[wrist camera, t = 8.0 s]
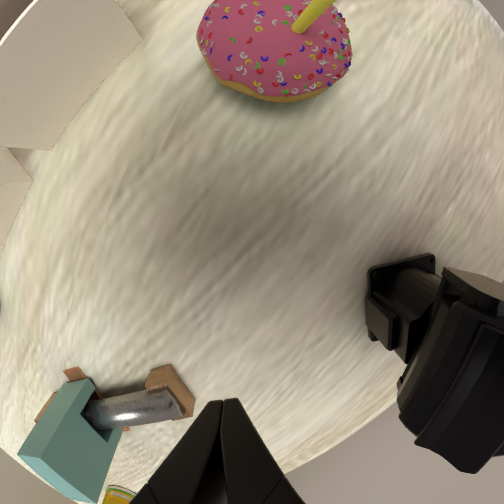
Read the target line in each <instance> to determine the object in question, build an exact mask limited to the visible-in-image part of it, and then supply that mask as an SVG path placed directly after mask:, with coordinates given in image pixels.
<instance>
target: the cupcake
mask: <svg viewBox="0 0 504 504" xmlns="http://www.w3.org/2000/svg"><path fill="white" fill-rule="evenodd" d="M335 1H336V0H215V1H213V2H212V3H211V5H210V6H209V7H208V8H207V10H206V12H205V14H204V16H203V18H202V21H201V22H200V25H199V27H198V30H197V36H196V37H197V43H198V46H199V48H200V50H201V52H202V54H203V57H204V59H205V61H206V63H207V64H208V66H209V68H210V70H211V72H212V73H213V75H214V77H215V78H216V80H217V81H218V82H219V83H221V84H223V85H225V86H227V87H230V88H232V89H234V90H237V91H239V92H241V93H244V94H247V95H249V96H252V97H255V98H258V99H262V100H266V101H272V102H281V103H289V102H296V101H300V100H303V99H307V98H311V97H315V96H317V95H319V94H320V93H322V92H323V91H325V90H326V89H328V88H329V87H331V86H332V85H333V84H334V83H335V82H336V81H337V80H339V79H340V78H342V77H343V76H344V75H345V74H346V73H348V72H349V69H348V68H349V66H350V65H351V58H352V56H353V54H352V51H351V44H350V39H349V35H348V33H349V29H348V28H346V24H345V18H342V14H341V13H338V12H337V8H336V7H335V6H333V5H332V4H333V3H334V2H335ZM343 19H344V20H343ZM343 21H344V22H343ZM347 31H348V32H347Z"/></svg>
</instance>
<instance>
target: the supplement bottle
mask: <svg viewBox="0 0 504 504" xmlns="http://www.w3.org/2000/svg"><path fill="white" fill-rule="evenodd" d="M135 495H136V494H135V493H133V492H132V491H130V490H128V489H125V488H122V487H118V486H109V487H108V488H107V490H106V494H105V497H104V500H103V503H102V504H128V503H129V502H130V501H131V500H132V499H133V498H134V497H135Z"/></svg>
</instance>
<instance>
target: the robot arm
mask: <svg viewBox="0 0 504 504" xmlns="http://www.w3.org/2000/svg"><path fill="white" fill-rule="evenodd" d="M430 258H431V259H430ZM429 259H430V261H429ZM374 272H376V275H375V276H372V275H373V273H374ZM367 275H368V295H367V297H366V325H367V326H368V327H369V335H368V336H369V338H370V339H371V341H378V340H379V341H380V342H381V343H382V344H383V345H384V347H385V348H386V349H387V350H389V351H392V350H394V351H395V352H396V353H397V354H398V356H399V357H400V358H401V359H402V360H403V362H404V363H405V364H408V365H407V367H406V369H405V371H404V373H403V375H402V376H401V377H400V378H399V380H398V382H397V388H398V394H397V403H398V406H399V410H400V413H399V419H400V420H401V422H402V423H403V424H404V426H405V427H406V428H407V429H408V430H409V431H410V432H411V433H413V434H414V435H415V436H416V437H417V439H416V440H415V441H414V443H415V445H417V446H420V447H423V448H427V449H430V450H431V451H433V452H435V453H437V454H439V455H441V456H442V457H443V458H445V459H446V460H447V461H448V462H449V463H451V464H452V465H453V466H454V467H455V468H456V469H457V470H459V471H461V472H465V473H471V474H476V473H477V472H479V471H480V469H481V468H482V467H483V466H484V465H485V464H486V463H487V462H488V461H489V460H490V459H491V457H497V456H504V285H503V284H501V283H499V282H497V281H494V280H492V279H490V278H488V277H485V276H483V275H479V274H474V273H470V272H466V271H462V270H457V269H453V268H449V267H443V271H442V274H441V275H442V277H441V276H439V275H437V274H435V256H434V255H433V254H431V253H428V254H424V255H420V256H416V257H412V258H408V259H404V260H400V261H396V262H392V263H388V264H384V265H380V266H375V267H372V268H370V269H369V271H368V274H367ZM374 335H375V336H374ZM373 336H374V337H373ZM128 504H305V503H304V501H303V500H302V499H301V498H300V496H299V495H298V494H297V492H296V491H295V490H294V488H293V487H292V486H291V484H290V483H289V481H288V479H287V478H286V477H285V475H284V474H283V472H282V471H281V469H280V467H279V466H278V464H277V463H276V461H275V460H274V458H273V456H272V455H271V453H270V452H269V450H268V448H267V447H266V445H265V444H264V442H263V440H262V439H261V437H260V435H259V434H258V432H257V430H256V429H255V427H254V425H253V423H252V422H251V420H250V418H249V416H248V415H247V413H246V411H245V409H244V408H243V406H242V404H241V402H240V401H239V399H238V398H230V399H225V400H224V401H223V400H213V401H209V402H208V403H207V404H206V406H205V407H204V409H203V410H202V411H201V413H200V414H199V415H198V417H197V418H196V420H195V421H194V422H193V424H192V425H191V426H190V428H189V429H188V430H187V432H186V433H185V434H184V436H183V437H182V438H181V440H180V441H179V442H178V443H177V445H176V446H175V447H174V449H173V450H172V451H171V453H170V454H169V455H168V456H167V458H166V459H165V460H164V461H163V463H162V464H161V465H160V467H159V468H158V469H157V470H156V472H155V473H154V474H153V475H152V476H151V478H150V479H149V480H148V483H146V484H145V485H144V486H143V487H142V489H141V490H140V491H139V492H138V493H137V494H136V495H135V497H134V498H133V499H132V500H131V501H130V502H129V503H128Z"/></svg>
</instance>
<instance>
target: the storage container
mask: <svg viewBox="0 0 504 504" xmlns="http://www.w3.org/2000/svg"><path fill="white" fill-rule="evenodd" d="M142 41H143V39H142V37H141V36H140V34H139V33H138V32H137V30H136V29H135V27H134V26H133V24H132V23H131V22H130V20H129V19H128V17H127V16H126V15H125V13H124V12H123V10H122V9H121V8H120V6H119V5H118V4H117V2H116V1H115V0H34V1H33V2H32V3H31V4H30V5H29V6H28V7H27V9H26V10H25V11H24V12H23V13H22V14H21V15H20V17H19V18H18V19H17V20H16V21H15V23H14V24H13V25H12V27H11V28H10V29H9V30H8V32H7V33H6V34H5V36H4V37H3V38H2V40H1V41H0V255H1V252H2V250H3V247H4V244H5V242H6V239H7V237H8V234H9V232H10V229H11V227H12V225H13V222H14V220H15V218H16V216H17V213H18V211H19V209H20V207H21V205H22V203H23V201H24V199H25V197H26V195H27V193H28V191H29V189H30V187H31V185H32V183H33V180H32V179H31V178H30V177H29V175H28V174H27V173H26V172H25V170H24V169H23V168H22V167H21V165H20V164H19V163H18V161H17V160H16V159H15V157H14V156H13V155H12V153H11V152H10V151H9V149H8V148H7V147H13V148H27V149H38V150H49V151H51V150H52V149H53V147H54V146H55V144H56V143H57V141H58V140H59V138H60V137H61V135H62V134H63V132H64V131H65V129H66V128H67V126H68V125H69V124H70V122H71V121H72V119H73V118H74V117H75V115H76V114H77V113H78V111H79V110H80V109H81V107H82V106H83V105H84V104H85V102H86V101H87V100H88V98H89V97H90V96H91V95H92V94H93V92H94V91H95V90H96V89H97V88H98V86H99V85H100V84H101V83H102V82H103V81H104V79H105V78H106V77H107V76H108V75H109V74H110V73H111V72H112V71H113V70H114V68H115V67H116V66H117V65H118V64H119V63H120V62H121V61H122V60H123V59H124V58H125V57H126V56H127V55H128V54H129V53H130V52H131V51H132V50H133V49H134V48H135V47H136V46H137V45H138V44H139V43H140V42H142Z"/></svg>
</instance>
